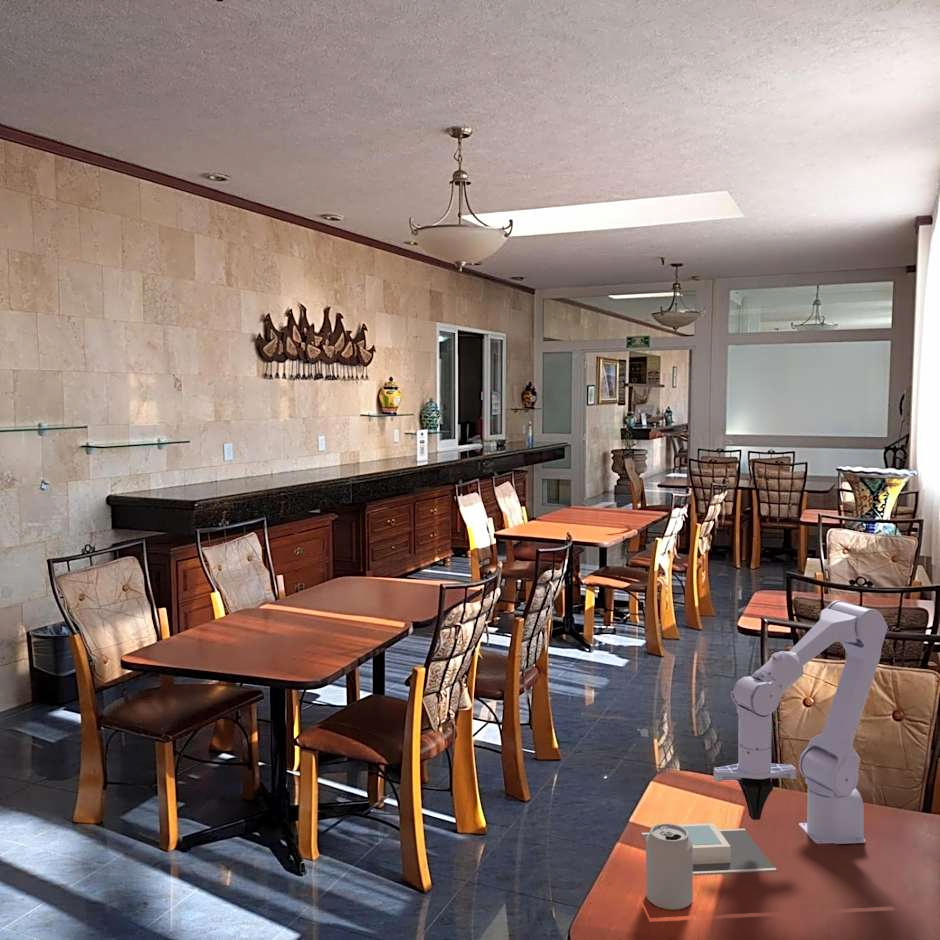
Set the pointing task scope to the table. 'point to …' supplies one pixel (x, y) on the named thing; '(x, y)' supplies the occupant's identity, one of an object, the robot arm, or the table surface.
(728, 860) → the white rectangular block
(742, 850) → the mat
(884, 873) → the table surface
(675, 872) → the can
